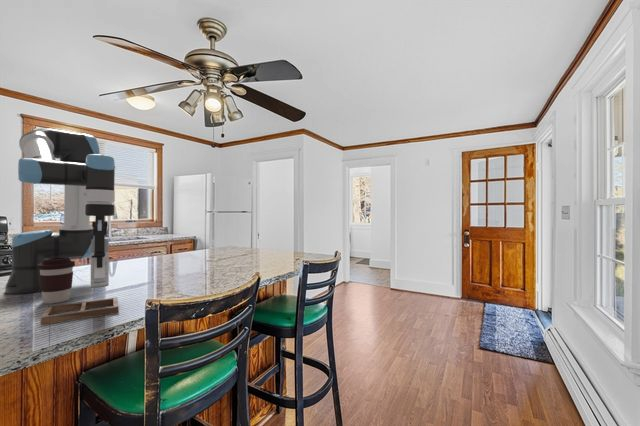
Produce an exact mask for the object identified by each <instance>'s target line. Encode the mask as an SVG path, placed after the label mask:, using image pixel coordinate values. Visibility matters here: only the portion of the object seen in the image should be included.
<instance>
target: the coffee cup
mask: <svg viewBox="0 0 640 426" xmlns="http://www.w3.org/2000/svg"><path fill="white" fill-rule="evenodd" d="M75 265H76V261H74V260H72V259H70V258H68V257H55V258H47V259H44V260H43V262H42V263H40V264H38V265H37V269H39V270H40V275H39V277H40V288H41V291H40V292H41V298H42V299H41V301H42V303H43V304H47V305H49V304H50V305H51V304H53V305H54V304H60V303H64V302H67V301H69V300H70V298H71V290H72V288H73V287H72V286H73V276H74V271H73V268H74V267H75Z"/></svg>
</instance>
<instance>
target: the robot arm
mask: <svg viewBox="0 0 640 426" xmlns="http://www.w3.org/2000/svg"><path fill="white" fill-rule="evenodd" d="M18 144H19V146H18V147H19V148H20V150H21V152H22V153H23V154H24V157H21V158H19V159H18V163H17V165H18V166H17V170H18V171H17V172H18V173H17V174H18V180H19V182H21V183H25V184H26V183H27V184H33V185H38V184H39V185H58V186H61V185H62V186H64V193H63V194H64V199H63V201H64V203H63V206H64V207H63V208H64V210H63V211H64V212H63V214H64V215H63V225H62V226H61V227H59V229H58V232H54V231H53V230H52V229H41V230H40V229H39V230H33V231H32V230H31V231H26V232H25V231H23V232H18V233H16V234H14V235H13V237H12V238H11V239H12V240H11V241H12V242H11V248H12V249H11V273H10V275H9V277H8V280H7V282H6V284H5V287H4V289H5V290H4V293H6V294H9V295H14V294H15V295H16V294H17V295H20V294H31V293H37V292H41V288H40V277H39V275H40V270H39V269H37V265H38V264H40V263H42V262H43V260H44V259H47V258H55V257H68V258H70V260H78V259H79V260H82V259H89V258H90V259H91V240H93V239H95V253H94V256H92V258H94V279H95V278H105V257H104V256H105V253H104V248H105V239H106V236H107V233H108V232H107V230H108V229H107V228H108V226H109V225H108V221H105V220H106V219H105V217H113V216H115V204H114V203H115V201H116V200H115V199H116V198H115V197H116V196H115V193H116V192H115V191H116V190H115V180H116V179H115V177H116V176H115V174H116V173H115V170H116V165H115V163H116V162H115V159H114V157H113V156H110V155H107V154H101V151H100V146H99V142H98V140H97V138H96V137H95V136H93V135H90V134H87V133H83V132H74V131H67V130H60V129H55V128H38V129H33V130H30V131H27V132H26V133H24V134H23V135H21V137H20V139H19V142H18ZM56 159H59V161H58V160H56ZM90 217H95V221H92V223H91V224H90V221H91V220H90Z"/></svg>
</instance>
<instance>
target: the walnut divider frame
mask: <svg viewBox="0 0 640 426" xmlns="http://www.w3.org/2000/svg"><path fill="white" fill-rule="evenodd" d="M118 299H119V298H118V297H117V296H116V297H111V298H110V297H109V298H101V299H95V300H86V301H79V302H70V303H63V304H53V305H48V306H47V307H46V309H45V311H44V312H43V314H42V315H41V317H40V326H42V325H43V326H44V325H49V324H55V323H56V324H57V323H62V322H68V321H76V320H82V318H83V319H88V318H93V317H94V318H95V317H101V316H107V315H109V316H110V315H114V314H119V300H118ZM104 306H105V307H104ZM106 306H108V307H106ZM96 307H97V308H96ZM98 307H100V308H98ZM90 308H91V309H90ZM92 308H93V309H92ZM76 309H78V311H77V310H76ZM70 310H71V311H73V312H71V311H70ZM64 312H65V313H64ZM54 313H58V314H54Z"/></svg>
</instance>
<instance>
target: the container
mask: <svg viewBox="0 0 640 426" xmlns="http://www.w3.org/2000/svg"><path fill="white" fill-rule="evenodd" d="M109 248H110V247H109V238H105V248H104V253H105V256H104V257H105V278H95V279H94V258H92V256H94V253H95V239H93V240H91V257H90V288H92V289H101V288H105V287H108V286H109V282H110V280H109V279H110V275H109V274H110V272H109V271H110V267H109V265H110V252H109V251H110V249H109Z"/></svg>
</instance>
